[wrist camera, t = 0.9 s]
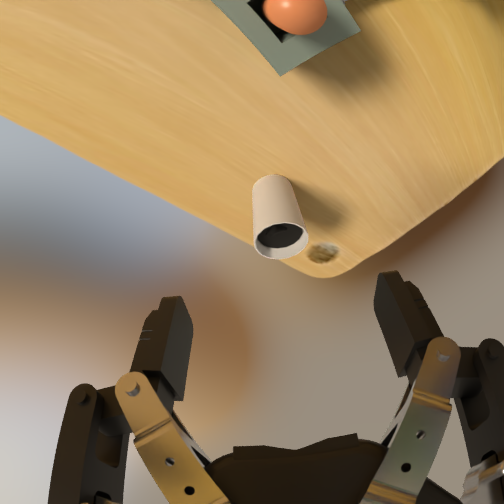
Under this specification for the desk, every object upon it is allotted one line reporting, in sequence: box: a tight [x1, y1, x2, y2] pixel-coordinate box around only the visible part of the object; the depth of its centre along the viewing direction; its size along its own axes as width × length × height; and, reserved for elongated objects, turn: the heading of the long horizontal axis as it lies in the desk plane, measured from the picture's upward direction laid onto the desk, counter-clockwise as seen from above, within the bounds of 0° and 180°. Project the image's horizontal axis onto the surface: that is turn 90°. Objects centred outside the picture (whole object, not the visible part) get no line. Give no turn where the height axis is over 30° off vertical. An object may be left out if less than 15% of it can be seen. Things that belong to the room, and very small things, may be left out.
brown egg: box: [261, 0, 327, 35], centre depth 15 cm, size 4×4×6 cm
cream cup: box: [252, 174, 308, 259], centre depth 39 cm, size 7×7×10 cm
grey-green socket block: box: [211, 0, 361, 76], centre depth 19 cm, size 9×8×10 cm
